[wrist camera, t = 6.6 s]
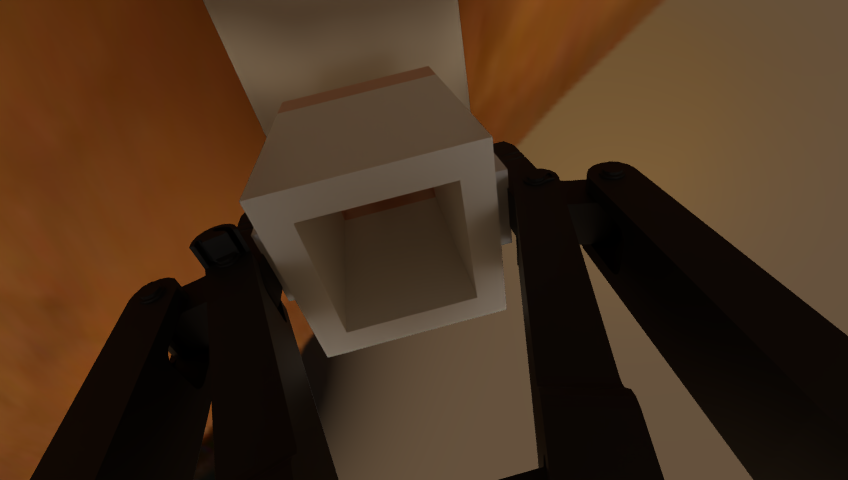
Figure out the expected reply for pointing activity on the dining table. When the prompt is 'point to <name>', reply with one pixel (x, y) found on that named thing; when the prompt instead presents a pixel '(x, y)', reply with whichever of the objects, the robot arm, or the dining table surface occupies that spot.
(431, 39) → the pin board
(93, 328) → the dining table surface
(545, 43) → the dining table surface
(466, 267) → the sleeve
